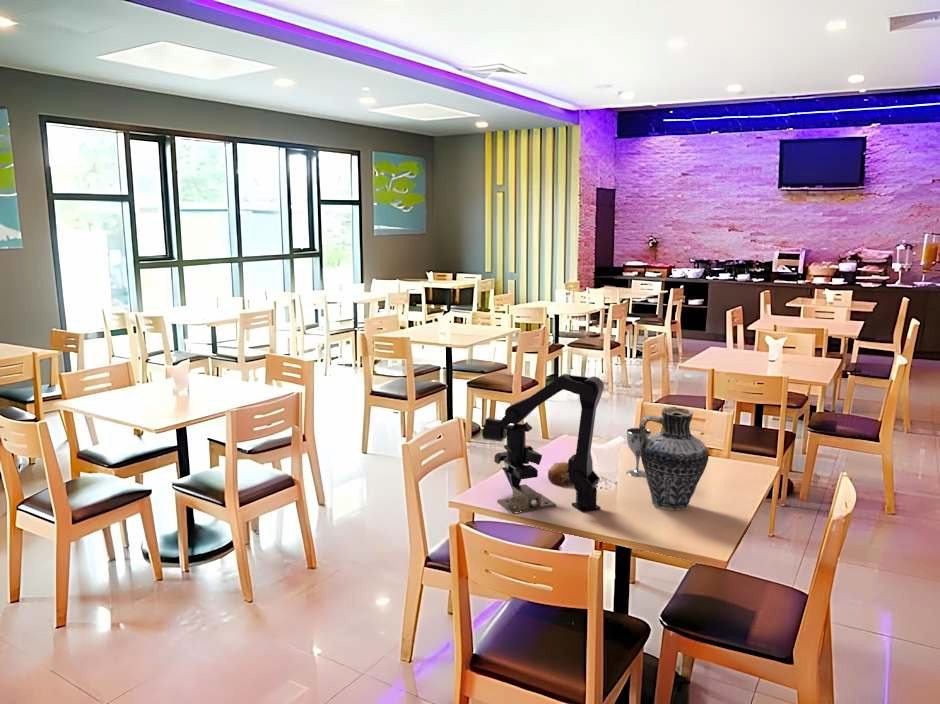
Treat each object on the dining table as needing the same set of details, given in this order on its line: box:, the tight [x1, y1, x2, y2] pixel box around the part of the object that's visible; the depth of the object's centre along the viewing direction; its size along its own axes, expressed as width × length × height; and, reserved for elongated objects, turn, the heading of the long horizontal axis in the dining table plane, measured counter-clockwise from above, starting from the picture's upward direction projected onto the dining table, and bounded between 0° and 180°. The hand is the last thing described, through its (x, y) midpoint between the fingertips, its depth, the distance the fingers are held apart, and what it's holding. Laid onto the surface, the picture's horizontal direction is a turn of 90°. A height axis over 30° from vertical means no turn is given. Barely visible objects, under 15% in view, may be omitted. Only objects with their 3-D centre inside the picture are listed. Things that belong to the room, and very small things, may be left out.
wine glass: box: [626, 427, 652, 478], centre depth 258 cm, size 8×8×15 cm
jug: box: [639, 406, 710, 511], centre depth 227 cm, size 21×19×30 cm
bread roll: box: [547, 461, 574, 486], centre depth 252 cm, size 10×10×8 cm
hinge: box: [496, 484, 557, 514], centre depth 230 cm, size 10×15×4 cm
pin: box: [530, 499, 538, 507], centre depth 230 cm, size 12×3×3 cm, turn 24°
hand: (514, 491), depth 237 cm, fingers closed
